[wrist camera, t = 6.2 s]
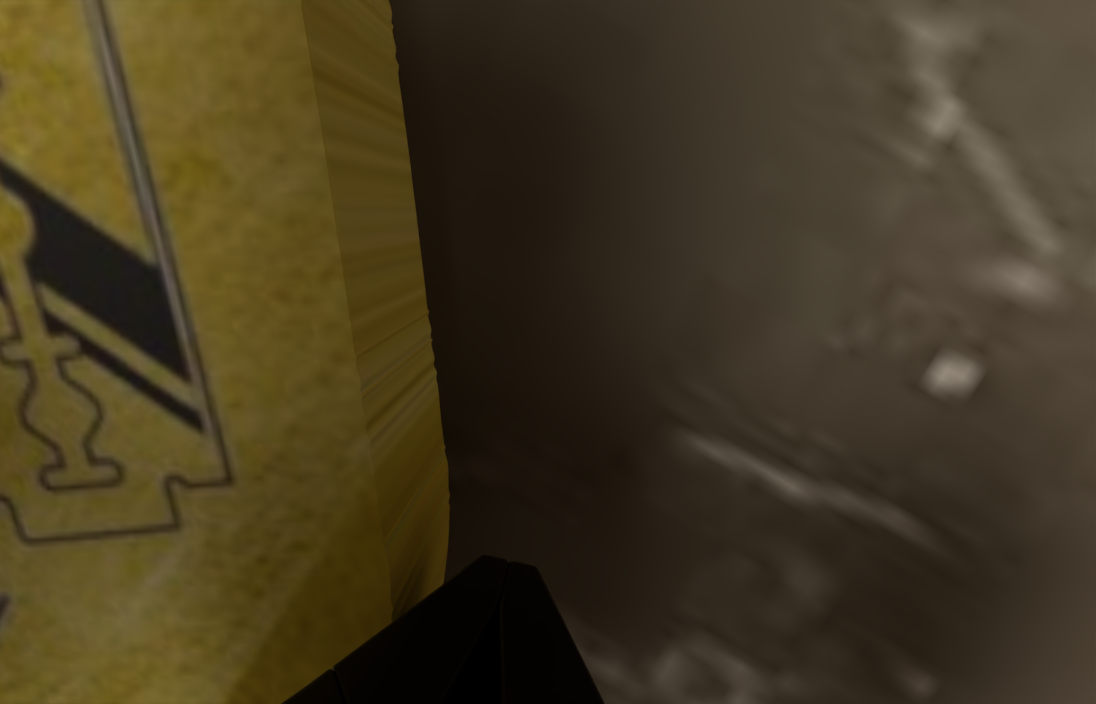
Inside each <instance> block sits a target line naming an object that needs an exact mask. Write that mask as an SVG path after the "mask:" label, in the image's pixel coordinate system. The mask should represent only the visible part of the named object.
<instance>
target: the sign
mask: <svg viewBox="0 0 1096 704" xmlns="http://www.w3.org/2000/svg"><path fill="white" fill-rule="evenodd" d="M391 20H392V11H391V7H390V3H389V0H0V704H281V703H282V702H284V701H285V700H286V699H288V698H289V697H291V696H292V695H294V694H295V693H296V692H298V691H299V690H301V689H302V688H304V687H305V686H306V685H308V684H309V683H311V682H312V681H313V680H315V679H316V678H317V677H319V676H320V675H321V674H323V673H324V672H325V671H327V670H328V669H332V667H333V666H334V665H335V664H336V663H338V662H339V661H340V660H342V659H343V658H345V657H346V656H347V655H349V654H350V653H351V652H353V651H354V650H355V649H357V648H358V647H359V646H361V645H362V644H363V643H365V642H366V641H367V640H369V639H370V638H371V637H373V636H374V635H375V634H377V633H378V632H379V631H381V630H382V629H383V628H385V627H386V626H387V625H389V624H390V623H391V622H393V621H394V620H396V619H397V618H398V617H400V616H401V615H402V614H404V613H405V612H406V611H408V610H409V609H410V608H412V607H413V606H414V605H416V604H417V603H418V602H420V601H421V600H422V599H424V598H425V597H426V596H428V595H429V594H430V593H432V592H433V591H434V590H436V589H437V588H438V587H440V586H441V585H442V584H443V582H444V576H445V569H446V560H447V551H448V538H449V514H450V506H449V498H450V493H449V483H448V462H447V458H446V455H445V448H446V447H445V445H444V438H443V431H442V423H441V413H440V401H439V391H438V384H437V381H436V376H437V371H436V369H435V367H434V360H435V358H434V353H433V350H432V345H431V344H432V341H433V340H432V339H431V326H430V323H429V319H428V314H429V311H428V309H427V300H426V291H425V282H424V274H423V265H422V257H421V249H420V240H419V232H418V224H417V215H416V207H415V199H414V190H413V182H412V174H411V166H410V157H409V150H408V142H407V135H406V128H405V120H404V112H403V105H402V98H401V91H400V84H399V76H398V71H399V65H398V63H397V60H396V56H395V55H396V45H395V41H394V38H393V32H392V31H393V27H394V26H393V25H392V23H391Z"/></svg>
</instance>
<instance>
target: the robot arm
mask: <svg viewBox="0 0 1096 704" xmlns="http://www.w3.org/2000/svg"><path fill="white" fill-rule="evenodd" d="M281 704H605V703H604V701H603V699H602V697H601V695H600V693H599V691H598V689H597V687H596V685H595V683H594V681H593V679H592V677H591V675H590V673H589V671H588V669H587V667H586V665H585V663H584V661H583V659H582V657H581V655H580V653H579V651H578V649H577V647H576V645H575V643H574V641H573V639H572V637H571V635H570V633H569V631H568V629H567V626H566V624H565V622H564V620H563V618H562V616H561V614H560V612H559V610H558V608H557V606H556V604H555V602H554V600H553V598H552V596H551V594H550V592H549V590H548V588H547V586H546V584H545V582H544V580H543V578H542V576H541V574H540V572H539V570H538V568H537V567H536V566H534V565H529V564H524V563H520V562H515V561H512V562H510V563H509V562H508V561H507V560H506V559H502V558H498V557H493V556H489V555H482V556H480V557H479V558H477V559H476V560H475V561H473V562H472V563H471V564H469V565H468V566H467V567H465V568H464V569H463V570H461V571H460V572H459V573H457V574H456V575H455V576H453V577H452V578H451V579H449V580H448V581H447V582H445V583H444V584H442V585H441V586H440V587H438V588H437V589H436V590H434V591H433V592H432V593H430V594H429V595H428V596H426V597H425V598H424V599H422V600H421V601H420V602H418V603H417V604H416V605H414V606H413V607H412V608H410V609H409V610H408V611H406V612H405V613H404V614H402V615H401V616H400V617H398V618H397V619H396V620H394V621H393V622H391V623H390V624H389V625H387V626H386V627H385V628H383V629H382V630H381V631H379V632H378V633H377V634H375V635H374V636H373V637H371V638H370V639H369V640H367V641H366V642H365V643H363V644H362V645H361V646H359V647H358V648H357V649H355V650H354V651H353V652H351V653H350V654H349V655H347V656H346V657H345V658H343V659H342V660H340V661H339V662H338V663H336V664H335V665H334V666H333V667H332V669H328V670H327V671H325V672H324V673H323V674H321V675H320V676H319V677H317V678H316V679H315V680H313V681H312V682H311V683H309V684H308V685H306V686H305V687H304V688H302V689H301V690H299V691H298V692H296V693H295V694H294V695H292V696H291V697H289V698H288V699H286V700H285V701H284V702H282V703H281Z"/></svg>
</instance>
